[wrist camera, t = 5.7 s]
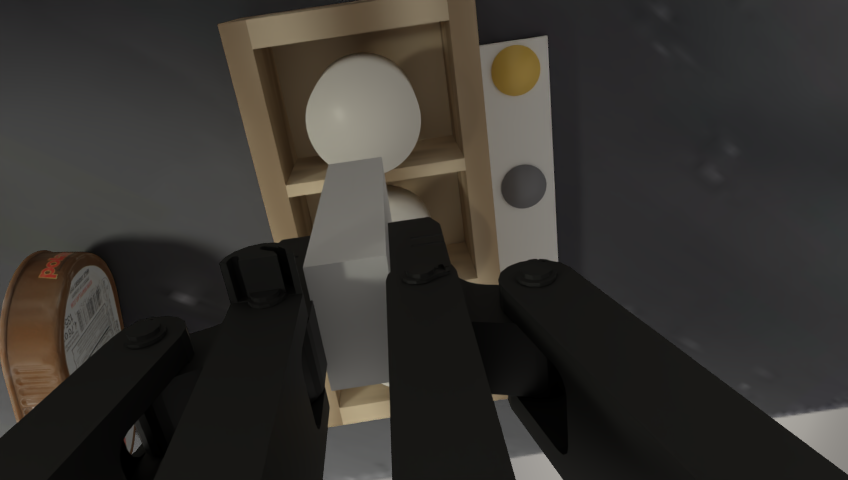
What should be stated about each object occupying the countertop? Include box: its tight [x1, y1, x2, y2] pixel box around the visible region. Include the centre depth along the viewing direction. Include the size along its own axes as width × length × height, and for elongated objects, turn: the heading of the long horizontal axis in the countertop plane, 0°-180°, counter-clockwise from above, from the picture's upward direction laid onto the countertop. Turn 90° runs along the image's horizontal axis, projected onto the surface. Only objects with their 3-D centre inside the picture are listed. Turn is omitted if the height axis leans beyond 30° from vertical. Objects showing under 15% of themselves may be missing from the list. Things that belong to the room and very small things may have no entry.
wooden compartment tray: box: [217, 0, 508, 427], centre depth 32 cm, size 11×22×5 cm, turn 8°
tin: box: [0, 250, 136, 455], centre depth 33 cm, size 15×3×8 cm, turn 178°
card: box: [479, 35, 558, 272], centre depth 34 cm, size 4×16×1 cm, turn 8°
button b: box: [386, 185, 431, 222], centre depth 29 cm, size 5×5×4 cm
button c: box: [306, 52, 421, 173], centre depth 27 cm, size 5×5×4 cm
